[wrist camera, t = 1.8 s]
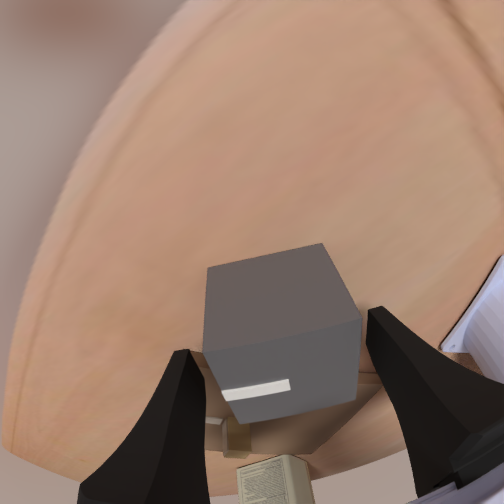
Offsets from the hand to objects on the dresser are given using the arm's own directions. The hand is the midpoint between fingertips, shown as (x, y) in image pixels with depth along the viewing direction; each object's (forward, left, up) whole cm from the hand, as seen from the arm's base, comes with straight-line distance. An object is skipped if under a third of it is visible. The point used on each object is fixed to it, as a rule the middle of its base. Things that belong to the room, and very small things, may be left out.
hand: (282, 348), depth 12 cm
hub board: (-3, +10, -3) cm, 11 cm away
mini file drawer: (0, 0, -3) cm, 3 cm away
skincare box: (-8, +21, -3) cm, 23 cm away
